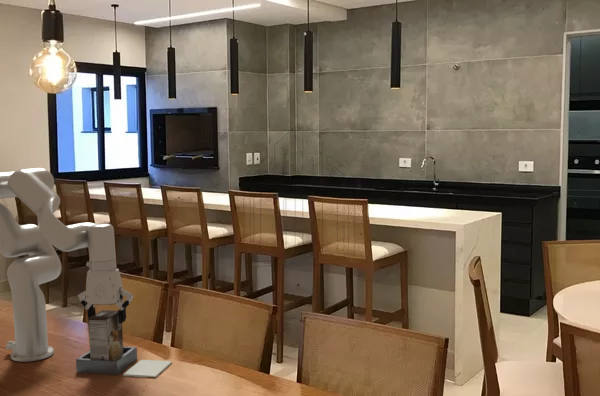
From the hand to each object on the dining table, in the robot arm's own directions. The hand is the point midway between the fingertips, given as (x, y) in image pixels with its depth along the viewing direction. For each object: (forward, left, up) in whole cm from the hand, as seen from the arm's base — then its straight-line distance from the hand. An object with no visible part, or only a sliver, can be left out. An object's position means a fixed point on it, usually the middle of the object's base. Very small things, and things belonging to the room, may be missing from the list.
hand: (107, 321), depth 197 cm
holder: (-1, 0, -14) cm, 14 cm away
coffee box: (-1, 0, -14) cm, 14 cm away
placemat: (+13, -1, -14) cm, 19 cm away
